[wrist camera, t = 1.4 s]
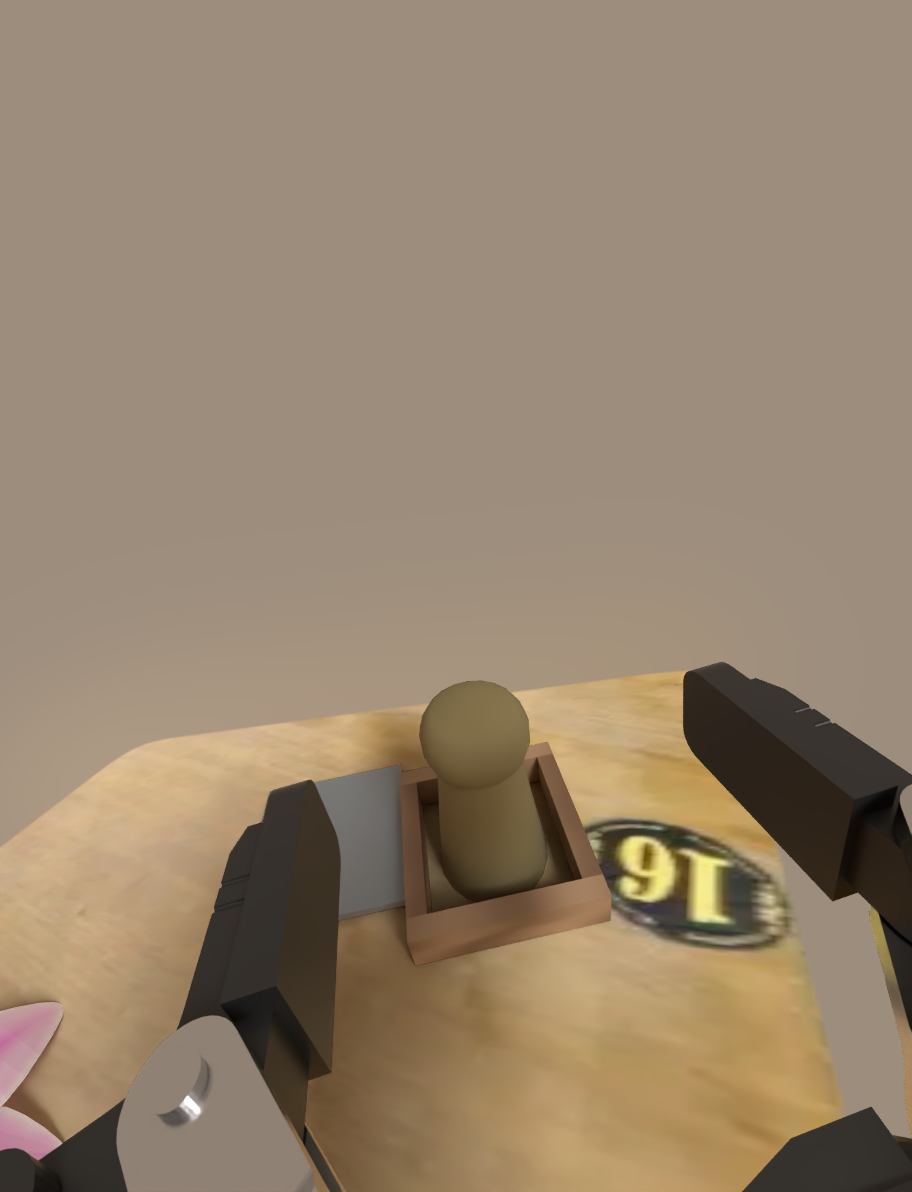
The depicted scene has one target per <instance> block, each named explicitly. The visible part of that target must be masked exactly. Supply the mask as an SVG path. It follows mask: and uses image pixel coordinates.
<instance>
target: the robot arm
mask: <svg viewBox="0 0 912 1192" xmlns="http://www.w3.org/2000/svg"><path fill="white" fill-rule="evenodd" d="M683 730H684V734H685V738H686V741H687V743H688V745H689V747H690V749H691V750H692V752H693V753H694V755H695V756H696V757H697V758H698V759H699V760H700V761H701V763H702V764H703V765H704V766H705V767H706V768H707V769H708V770H709V771H710V772H711V773H712V774H713V775H714V776H715V777H716V778H717V779H718V781H719V782H720V783H721V784H722V785H723V786H724V787H725V788H726V789H727V790H728V791H729V792H730V793H731V794H732V795H733V796H734V797H735V799H736V800H737V801H738V802H739V803H740V804H741V805H742V806H743V807H744V808H745V809H746V810H747V811H748V812H749V813H750V814H751V815H752V817H753V818H754V819H755V820H756V821H757V822H758V823H759V824H760V825H761V826H762V827H763V828H764V829H765V830H766V831H767V832H768V833H769V835H770V836H771V837H772V838H773V839H774V840H775V841H776V842H777V843H778V844H779V845H780V846H781V847H782V848H783V849H784V850H785V851H786V853H787V854H788V855H789V856H790V857H792V859H793V860H794V861H795V862H796V863H797V864H798V865H799V866H800V867H801V868H802V870H803V871H804V872H805V873H806V874H807V875H808V876H809V877H810V878H811V879H812V880H813V881H814V882H815V883H816V884H817V885H818V886H819V887H820V889H821V890H822V891H823V892H824V893H826V895H827V896H828V897H829V898H830V899H831V900H832V901H835V900H838V899H841V898H843V897H847V896H849V895H852V894H855V893H859V894H860V895H861V896H862V897H863V898H864V899H865V900H866V901H867V902H868V903H869V904H870V905H871V907H870V914H869V915H870V922H871V926H872V930H873V934H874V937H875V941H876V945H877V949H878V953H879V957H880V961H881V965H882V969H883V973H884V976H885V981H886V985H887V989H888V993H889V997H890V1000H891V1004H892V1008H893V1012H894V1016H895V1020H896V1024H897V1028H898V1032H899V1036H900V1040H901V1044H902V1050H903V1056H904V1066H905V1067H904V1069H905V1073H904V1074H905V1075H904V1091H905V1102H906V1111H907V1117H908V1123H909V1128H910V1133H911V1137H912V775H911V774H910V773H908V772H907V771H905V770H904V769H902V768H901V767H899V766H898V765H896V764H895V763H893V762H892V761H891V760H889V759H887V758H886V757H885V756H883V755H881V754H880V753H879V752H877V751H876V750H874V749H873V748H871V747H870V746H868V745H867V744H865V743H864V742H862V741H861V740H860V739H858V738H856V737H855V736H854V735H852V734H851V733H849V732H848V731H846V730H845V729H843V728H842V727H840V726H838V725H837V724H836V723H833V724H832V723H831V722H830V719H828V718H827V717H825V716H824V715H823V714H821V713H820V712H818V711H817V710H815V709H810V707H809V705H808V704H806V703H805V702H803V701H802V700H800V699H799V698H797V697H796V696H794V695H793V694H791V693H790V692H788V691H787V690H786V689H783V688H781V687H778V686H775V685H772V684H770V683H767V682H765V681H762V680H759V679H757V678H755V679H751V680H750V679H749V678H747V677H746V676H744V675H743V674H742V673H740V672H739V671H737V670H736V669H735V668H733V667H732V666H730V665H729V664H727V663H724V662H719V663H716V664H712V665H709V666H705V667H702V668H698V669H695V670H691V671H688V672H687V673H686V674H685V676H684V680H683ZM340 874H341V855H340V847H339V842H338V838H337V834H336V831H335V829H334V826H333V824H332V822H331V820H330V817H329V815H328V813H327V810H326V808H325V806H324V804H323V801H322V799H321V797H320V794H319V792H318V790H317V788H316V785H315V784H314V782H313V781H312V780H307V781H303V782H300V783H297V784H293V785H290V786H286V787H283V788H279V789H276V790H273V791H272V792H271V793H270V795H269V798H268V802H267V806H266V811H265V815H264V819H263V822H262V823H258V824H255V825H252V826H248V827H247V829H246V830H245V832H244V833H243V835H242V836H241V838H240V839H239V841H238V842H237V844H236V845H235V847H234V848H233V850H232V851H231V853H230V855H229V858H228V861H227V865H226V868H225V872H224V875H223V878H222V882H221V883H222V888H220V889H219V892H218V895H217V899H216V902H215V906H214V909H215V912H214V913H213V914H212V916H211V919H210V923H209V926H208V929H207V933H206V936H205V940H204V943H203V946H202V950H201V953H200V957H199V960H198V963H197V967H196V970H195V974H194V977H193V980H192V984H191V987H190V991H189V994H188V997H187V1001H186V1004H185V1008H184V1011H183V1014H182V1017H181V1020H180V1023H179V1026H178V1028H177V1030H176V1031H175V1032H174V1033H173V1034H172V1035H170V1036H169V1037H168V1038H167V1039H166V1040H165V1041H164V1042H163V1043H162V1044H161V1045H160V1046H159V1047H158V1048H157V1049H156V1050H155V1051H154V1053H153V1054H152V1055H151V1056H150V1058H149V1059H148V1060H147V1062H146V1063H145V1064H144V1066H143V1067H142V1069H141V1070H140V1072H139V1073H138V1075H137V1077H136V1078H135V1080H134V1082H133V1084H132V1086H131V1088H130V1090H129V1092H128V1094H127V1097H126V1098H125V1099H124V1100H122V1101H121V1102H120V1103H119V1104H117V1105H116V1106H115V1107H113V1108H112V1109H111V1110H109V1111H108V1112H107V1113H105V1114H104V1115H102V1116H101V1117H100V1118H98V1119H97V1120H95V1121H94V1122H92V1123H91V1124H90V1125H88V1126H87V1127H85V1128H84V1129H82V1130H81V1131H80V1132H78V1133H77V1134H75V1135H74V1136H73V1137H71V1138H70V1139H68V1140H67V1141H65V1142H64V1143H63V1144H61V1145H60V1146H58V1147H57V1148H55V1149H54V1150H53V1151H51V1152H50V1153H48V1154H47V1155H46V1156H44V1157H43V1158H41V1159H40V1160H37V1159H35V1158H34V1157H32V1156H31V1155H30V1154H28V1153H27V1152H25V1151H24V1150H21V1149H18V1148H10V1149H4V1150H1V1151H0V1192H346V1191H345V1189H344V1187H343V1186H342V1184H341V1182H340V1180H339V1179H338V1177H337V1175H336V1173H335V1172H334V1170H333V1168H332V1166H331V1165H330V1163H329V1161H328V1159H327V1158H326V1156H325V1154H324V1152H323V1151H322V1149H321V1147H320V1145H319V1144H318V1142H317V1140H316V1138H315V1137H314V1135H313V1133H312V1131H311V1130H310V1128H309V1126H308V1124H307V1122H306V1121H305V1112H306V1099H307V1087H308V1080H311V1079H314V1078H317V1077H320V1076H323V1075H326V1074H328V1073H331V1069H332V1047H333V1026H334V1004H335V982H336V961H337V939H338V917H339V896H340ZM742 1192H912V1139H911V1138H906V1137H900V1136H895V1135H892V1134H891V1133H890V1132H889V1130H888V1129H887V1128H886V1126H885V1125H884V1123H883V1122H882V1121H881V1119H880V1118H879V1117H878V1115H877V1114H876V1113H875V1111H874V1110H873V1108H872V1107H869V1108H867V1109H864V1110H862V1111H859V1112H857V1113H854V1114H852V1115H849V1116H846V1117H844V1118H841V1119H839V1120H836V1121H834V1122H831V1123H829V1124H826V1125H824V1126H821V1127H819V1128H816V1129H814V1130H811V1131H809V1132H806V1133H803V1134H801V1135H798V1136H796V1137H793V1138H791V1139H790V1140H789V1141H788V1142H787V1143H786V1144H785V1145H784V1147H783V1148H782V1149H781V1150H780V1151H779V1152H778V1153H777V1154H776V1155H775V1156H774V1158H773V1159H772V1160H771V1161H770V1162H769V1163H768V1164H767V1165H766V1166H765V1167H764V1168H763V1170H762V1171H761V1172H760V1173H759V1174H758V1175H757V1176H756V1177H755V1178H754V1179H753V1180H752V1182H751V1183H750V1184H749V1185H748V1186H747V1187H746V1188H745V1189H744V1190H743V1191H742Z"/></svg>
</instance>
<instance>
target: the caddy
mask: <svg viewBox="0 0 912 1192" xmlns="http://www.w3.org/2000/svg"><path fill="white" fill-rule="evenodd" d="M523 763H524V767H525V770H526V774H527V777H528V781H529V783H530V782H535V781H539V783H540V786H541V788H542V791H543V794H544V797H545V800H546V802H547V805H548V808H549V811H550V814H551V816H552V819H553V822H554V825H555V828H556V830H557V833H558V836H559V839H560V841H561V844H562V847H563V850H564V853H565V855H566V858H567V861H568V864H569V867H570V869H571V872H572V875H573V878H574V881H570V882H566V883H562V884H557V885H553V886H548V887H544V888H539V889H535V890H531V891H526V892H522V893H517V894H513V895H508V896H504V897H500V898H495V899H491V900H486V901H482V902H478V903H473V904H469V905H464V906H460V907H455V908H451V909H447V910H442V911H438V912H433V913H432V906H431V895H430V883H429V872H428V860H427V849H426V837H425V826H424V815H423V805H427V804H432V803H437V802H439V791H438V776H437V775H436V773H435V772H434V771H433V769H432V768H431V767H430V766H429V767H425V768H420V769H415V770H410V771H405V772H401V773H400V786H401V811H402V835H403V860H404V884H405V909H406V933H407V944H408V947H409V950H410V952H411V955H412V958H413V960H414V963H415V966H417V965H421V964H425V963H430V962H434V961H438V960H443V959H447V958H451V957H456V956H460V955H464V954H468V953H473V952H477V951H481V950H486V949H490V948H494V947H499V946H503V945H507V944H512V943H516V942H520V941H524V940H529V939H533V938H537V937H542V936H546V935H550V934H555V933H559V932H563V931H568V930H572V929H576V928H580V927H585V926H589V925H593V924H598V923H602V922H606V921H610V918H611V896H612V895H611V893H610V891H609V888H608V886H607V883H606V881H605V879H604V876H603V874H602V871H601V869H600V867H599V864H598V862H597V859H596V857H595V855H594V852H593V850H592V847H591V845H590V843H589V840H588V838H587V835H586V833H585V831H584V828H583V826H582V823H581V821H580V819H579V816H578V814H577V811H576V809H575V807H574V804H573V802H572V799H571V797H570V795H569V792H568V790H567V787H566V785H565V782H564V780H563V778H562V775H561V773H560V770H559V768H558V766H557V763H556V761H555V758H554V756H553V754H552V751H551V749H550V746H549V744H548V742H544V743H540V744H535V745H530V746H529V747H528V750H527V753H526V756H525V759H524V762H523Z"/></svg>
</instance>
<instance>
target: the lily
mask: <svg viewBox="0 0 912 1192" xmlns="http://www.w3.org/2000/svg"><path fill="white" fill-rule="evenodd" d="M63 1013H64V1011H63V1008H62V1006H61V1004H60V1003H57V1002H43V1003H35V1004H29V1005H24V1006H18V1007H14V1008H10V1009H6V1010H2V1011H0V1151H1V1150H4V1149H10V1148H18V1149H21V1150H24V1151H25V1152H27V1153H28V1154H30V1155H31V1156H32V1157H34V1158H35V1159H37V1160H40V1159H41V1158H43V1157H44V1156H46V1155H47V1154H48V1153H50V1152H51V1151H53V1150H54V1149H55V1148H57V1147H58V1146H60V1145H61V1144H63V1143H62V1142H61V1141H60V1140H59V1139H58V1138H57V1137H55V1136H54V1135H53V1134H52V1133H51V1132H49V1131H48V1130H47V1129H46V1128H45V1127H43V1126H42V1125H40V1124H38V1123H37V1122H35V1121H34V1120H32V1119H31V1118H29V1117H28V1116H26V1115H24V1114H22V1113H20V1112H17V1111H15V1110H13V1109H10V1108H8V1107H2V1105H3V1104H4V1103H5V1102H6V1101H7V1100H8V1099H9V1098H10V1097H11V1095H12V1094H13V1093H14V1091H15V1090H16V1089H17V1088H18V1086H19V1085H20V1084H21V1082H22V1081H23V1080H24V1079H25V1077H26V1076H27V1074H28V1073H29V1071H30V1070H31V1068H32V1067H33V1065H34V1064H35V1062H36V1061H37V1059H38V1058H39V1056H40V1055H41V1053H42V1052H43V1050H44V1048H45V1047H46V1045H47V1044H48V1042H49V1041H50V1039H51V1037H52V1036H53V1034H54V1032H55V1030H56V1029H57V1027H58V1025H59V1023H60V1021H61V1019H62V1016H63Z"/></svg>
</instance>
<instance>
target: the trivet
mask: <svg viewBox="0 0 912 1192" xmlns="http://www.w3.org/2000/svg"><path fill="white" fill-rule="evenodd" d="M401 772H402V767H401V765H396V766H391V767H387V768H382V769H377V770H372V771H367V772H363V773H358V774H353V775H348V776H343V777H338V778H334V779H329V780H324V781H319V782H314V784H315V785H316V788H317V790H318V792H319V794H320V797H321V799H322V801H323V804H324V806H325V808H326V810H327V813H328V815H329V817H330V820H331V822H332V824H333V826H334V829H335V831H336V834H337V838H338V842H339V847H340V855H341V874H340V896H339V917H338V921H339V920H344V919H348V918H353V917H357V916H362V915H366V914H371V913H375V912H380V911H384V910H388V909H393V908H397V907H402V906H405V884H404V860H403V835H402V811H401V786H400V773H401ZM271 792H272V791H271ZM271 792H270V793H271ZM269 795H270V794H269ZM268 798H269V797H268ZM267 802H268V801H267ZM266 806H267V805H266ZM265 811H266V809H265ZM264 815H265V813H264ZM263 819H264V817H263ZM262 822H263V821H262Z"/></svg>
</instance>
